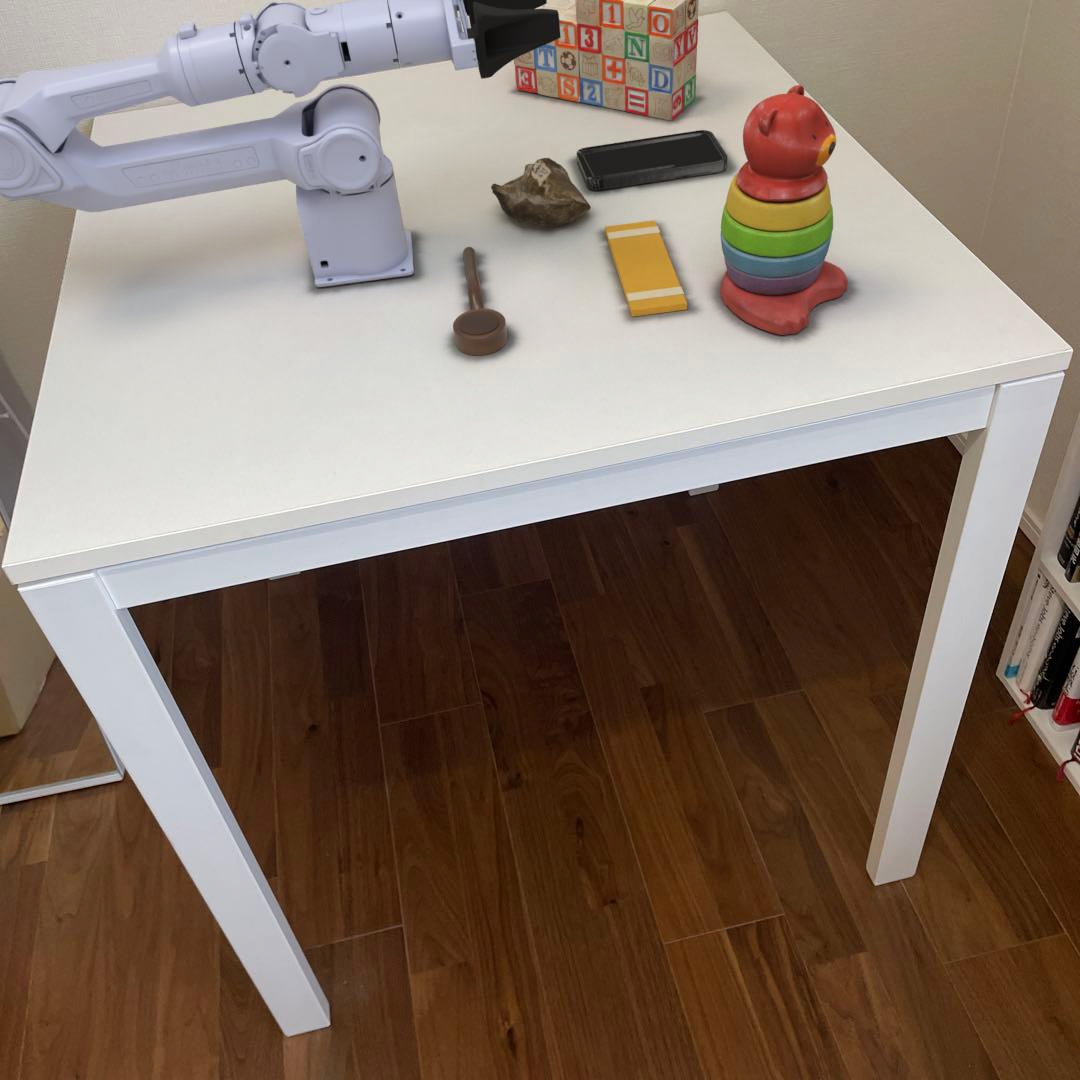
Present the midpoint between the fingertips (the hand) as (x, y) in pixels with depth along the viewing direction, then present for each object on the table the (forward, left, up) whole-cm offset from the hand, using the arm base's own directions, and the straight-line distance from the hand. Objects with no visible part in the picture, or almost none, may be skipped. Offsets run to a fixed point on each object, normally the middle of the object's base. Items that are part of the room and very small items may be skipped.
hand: (552, 6), depth 94 cm
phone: (+11, +11, -21) cm, 27 cm away
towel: (+6, -8, -21) cm, 24 cm away
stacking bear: (+17, -16, -22) cm, 31 cm away
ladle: (-10, -10, -21) cm, 26 cm away
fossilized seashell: (-2, +3, -22) cm, 22 cm away
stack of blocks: (+9, +31, -22) cm, 38 cm away
